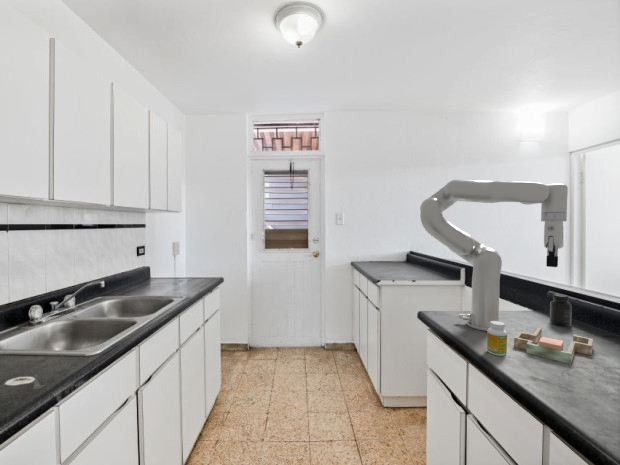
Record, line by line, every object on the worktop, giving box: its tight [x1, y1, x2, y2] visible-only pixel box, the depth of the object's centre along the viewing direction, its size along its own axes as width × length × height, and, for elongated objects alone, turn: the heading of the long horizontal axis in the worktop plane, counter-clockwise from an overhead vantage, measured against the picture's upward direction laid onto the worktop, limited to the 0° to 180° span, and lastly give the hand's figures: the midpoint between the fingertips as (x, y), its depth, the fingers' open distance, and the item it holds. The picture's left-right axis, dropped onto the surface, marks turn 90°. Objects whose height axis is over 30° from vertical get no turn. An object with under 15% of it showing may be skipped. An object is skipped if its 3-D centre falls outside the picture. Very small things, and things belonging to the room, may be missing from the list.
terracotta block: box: [538, 336, 564, 351], centre depth 98 cm, size 6×6×4 cm
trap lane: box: [513, 326, 594, 365], centre depth 103 cm, size 19×21×3 cm
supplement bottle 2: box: [549, 293, 573, 328], centre depth 126 cm, size 7×7×12 cm
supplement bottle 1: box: [486, 321, 508, 357], centre depth 100 cm, size 5×5×10 cm
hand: (552, 266), depth 116 cm, fingers closed
